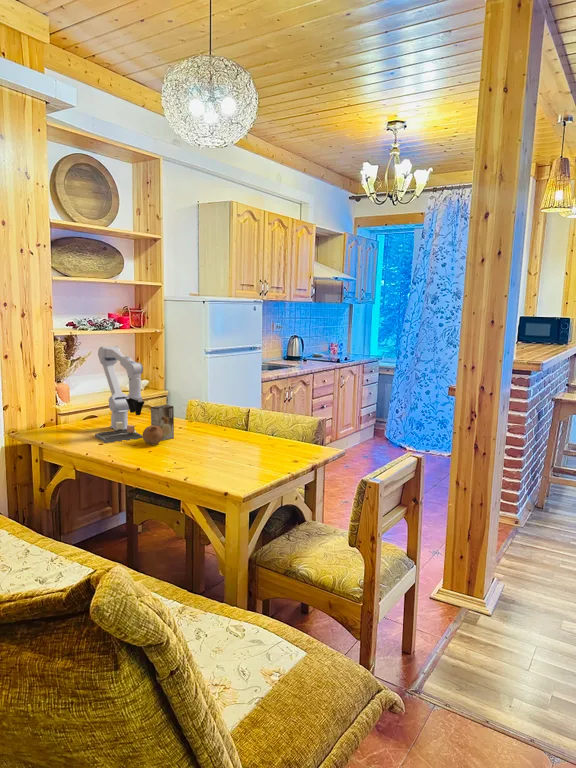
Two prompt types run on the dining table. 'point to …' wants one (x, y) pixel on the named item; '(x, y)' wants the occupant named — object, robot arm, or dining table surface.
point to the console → (117, 436)
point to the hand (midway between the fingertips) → (135, 413)
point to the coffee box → (163, 420)
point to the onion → (152, 435)
